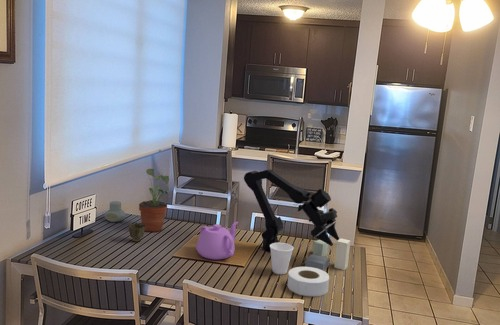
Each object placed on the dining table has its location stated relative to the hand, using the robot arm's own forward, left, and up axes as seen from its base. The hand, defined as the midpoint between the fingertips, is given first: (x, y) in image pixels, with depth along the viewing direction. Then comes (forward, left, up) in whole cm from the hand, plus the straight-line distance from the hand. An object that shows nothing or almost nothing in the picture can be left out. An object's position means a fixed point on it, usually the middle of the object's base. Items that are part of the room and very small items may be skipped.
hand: (335, 242), depth 195 cm
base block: (-8, +1, -11) cm, 14 cm away
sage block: (+3, +13, -11) cm, 17 cm away
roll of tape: (-25, -14, -11) cm, 31 cm away
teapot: (-42, +29, -11) cm, 52 cm away
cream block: (+2, -3, -10) cm, 11 cm away
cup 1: (-72, +56, -11) cm, 92 cm away
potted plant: (-59, +71, -11) cm, 93 cm away
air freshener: (-74, +91, -11) cm, 118 cm away
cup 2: (-27, +2, -11) cm, 29 cm away
